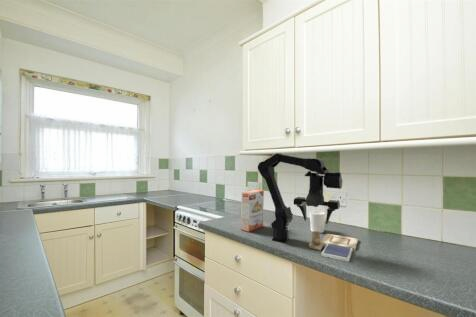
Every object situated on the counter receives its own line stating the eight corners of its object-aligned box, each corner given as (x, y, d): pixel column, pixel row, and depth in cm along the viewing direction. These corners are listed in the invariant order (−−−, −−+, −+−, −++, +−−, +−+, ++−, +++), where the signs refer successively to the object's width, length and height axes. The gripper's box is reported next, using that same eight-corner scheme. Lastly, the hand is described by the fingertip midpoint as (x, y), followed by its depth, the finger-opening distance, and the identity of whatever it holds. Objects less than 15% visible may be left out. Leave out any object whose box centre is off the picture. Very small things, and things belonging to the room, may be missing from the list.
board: (320, 244, 105) (320, 241, 105) (327, 235, 117) (327, 233, 117) (355, 250, 98) (355, 248, 98) (357, 240, 110) (357, 238, 110)
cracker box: (249, 232, 122) (249, 193, 122) (240, 230, 126) (240, 192, 126) (264, 226, 133) (264, 190, 133) (255, 224, 137) (255, 189, 137)
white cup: (306, 229, 127) (306, 211, 127) (318, 228, 130) (318, 210, 130) (316, 234, 120) (316, 214, 120) (328, 232, 122) (328, 213, 122)
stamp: (308, 248, 101) (308, 232, 101) (311, 244, 105) (311, 229, 105) (320, 250, 98) (320, 234, 98) (323, 246, 103) (323, 231, 103)
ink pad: (321, 256, 93) (321, 252, 93) (327, 246, 103) (327, 243, 103) (348, 261, 88) (348, 257, 88) (352, 251, 98) (352, 247, 98)
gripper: (289, 187, 100) (289, 223, 100) (335, 190, 90) (335, 230, 90) (297, 184, 109) (297, 217, 109) (340, 187, 99) (339, 223, 99)
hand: (315, 222), depth 102 cm, fingers open, 9 cm apart
